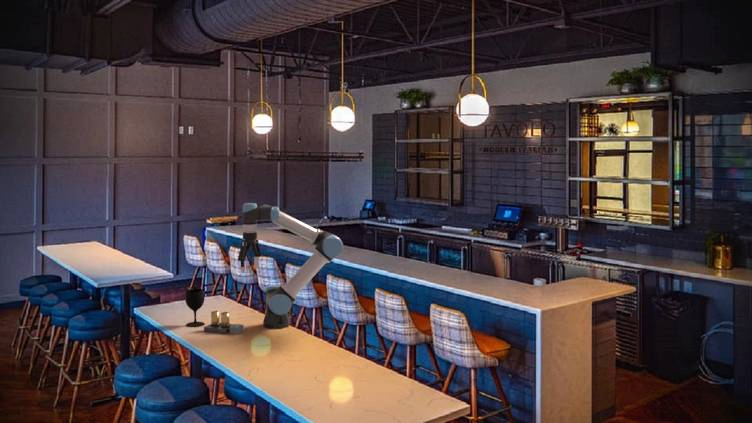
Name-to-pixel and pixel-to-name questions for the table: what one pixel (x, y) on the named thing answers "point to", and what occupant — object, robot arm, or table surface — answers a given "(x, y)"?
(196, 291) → the wine glass
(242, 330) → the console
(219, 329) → the grey flat frame
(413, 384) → the table surface
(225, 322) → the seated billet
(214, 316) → the loose billet
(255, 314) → the table surface
